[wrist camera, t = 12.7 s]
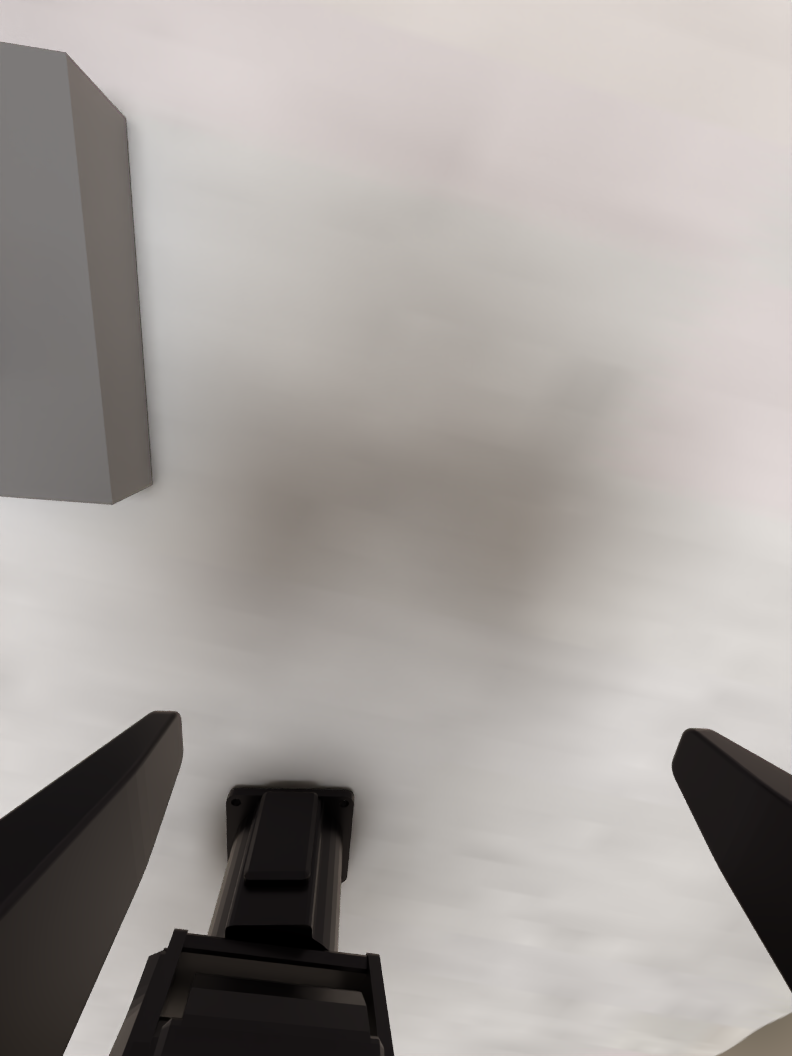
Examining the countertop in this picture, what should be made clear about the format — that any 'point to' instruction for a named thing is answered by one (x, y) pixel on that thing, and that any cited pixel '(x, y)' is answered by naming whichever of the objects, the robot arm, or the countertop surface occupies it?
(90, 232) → the slate base
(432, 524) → the countertop surface
